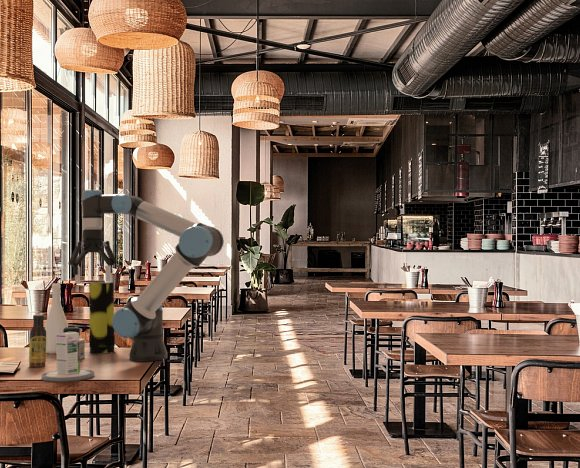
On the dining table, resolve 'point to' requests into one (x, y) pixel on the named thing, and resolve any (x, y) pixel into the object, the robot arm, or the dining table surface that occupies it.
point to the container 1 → (81, 341)
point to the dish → (67, 376)
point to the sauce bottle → (37, 343)
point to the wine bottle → (54, 320)
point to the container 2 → (101, 317)
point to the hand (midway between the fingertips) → (93, 282)
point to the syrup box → (67, 353)
